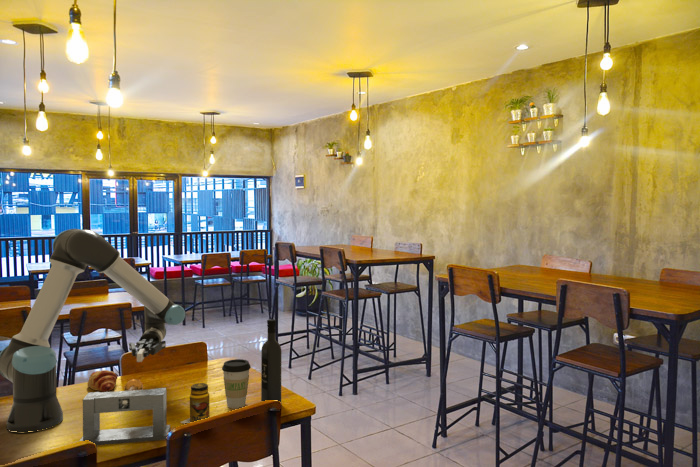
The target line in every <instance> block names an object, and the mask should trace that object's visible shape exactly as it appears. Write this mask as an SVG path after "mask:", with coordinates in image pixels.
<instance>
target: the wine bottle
mask: <svg viewBox="0 0 700 467" xmlns="http://www.w3.org/2000/svg"><path fill="white" fill-rule="evenodd" d="M276 322H277V319H273V318H271V319H267V321H266V323H267V324H266V326H267V339H266V341H264V343H263V344H262V346H261V350H260V351H261V353H260V354H261V355H260V356H261V357H260V359H261V360H260V361H261V369H260V372H261V373H260V378H261V379H260V380H261V381H260V382H261V384H260V387H261V388H260V390H261V391H260V393H261V394H260V397H261V398H260V400H261V401H265V400H278V401H280V402H281V403H282V354H283V353H282V351H283V350H282V347H281V345H280V343H279V342H278V341H277V340H276V326H277V323H276ZM261 401H260V402H261Z"/></svg>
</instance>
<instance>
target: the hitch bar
mask: <svg viewBox="0 0 700 467" xmlns="http://www.w3.org/2000/svg"><path fill="white" fill-rule="evenodd" d="M122 399H130V402H129V404H128V406H126V407H122V406H121V404H120V403H121V401H122ZM148 410H152V425H148V426H136V427H123V428H110V429H108V428H107V429H101V425H100V424H101V419H100V418H101V415H100V414H103V413H104V414H105V413H120V412H131V411H133V412H136V411H148ZM170 431H171V424H167V387H159V388H157V387H156V388H150V389H142V390H131V391H125V390H118V391H117V390H116V391H115V390H114V391H107V392H102V391H95V392H93V391H92V392H91V391H90V392H87V394H86V395H85V396H84V398H83V399H82V437H81V438H80V439H79V441H85V440H89V441H91V442H93V443H95V444H96V445H95V446H103V445H104V446H105V444H107V445H117V444H129V443H142V442H152V441H154V442H155V441H166V437H167V433H168V432H169V433H170ZM167 438H168V437H167Z"/></svg>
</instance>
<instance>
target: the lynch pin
mask: <svg viewBox="0 0 700 467" xmlns="http://www.w3.org/2000/svg"><path fill="white" fill-rule="evenodd" d="M143 387H144V385H143V383H142V382H141V380H139V379H137V378H135V379H130V380H128V381H127V383H126V384H125V386H124V391H131V390H144V389H143ZM129 403H130V399H122V401H121V403H120V404H121V406H122V407H126V406H128V404H129Z"/></svg>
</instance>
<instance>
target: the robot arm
mask: <svg viewBox="0 0 700 467" xmlns="http://www.w3.org/2000/svg"><path fill="white" fill-rule="evenodd" d="M51 253H52V254H51V256H50V258H49V263H50V265H51V267H50V269H49V271H48V273H47V275H46V278H45V280H44V281H43V284H42V286H41V288H40V289H39V292H38V294H37V296H36V298H35V300H34V303H33V305H32V307H31V309H30V311H29V314H28V316H27V317H26V320H25V322H24V323H23V326H22V328H21V329H20V330H21V331H20V332H19V333H17V334H15V335H12V338H11V340H10V341H9V344H8V345H6V346H5V347H4V348H3V349H2V350H1V351H0V374H1V376H2V377H3V378H4V379H6V380H8V381H10V383H12V397H13V398H12V404H11V409H10V411H9V414H8V417H7V420H6V430H7V429H8V430H10V431H17V432H28V431H37V430H42V429H45V430H47V429H46V428H49V427H51V428H53V427H52V426H54V427H56V426H57V425H56V424H58V423H59V424H60V423H62V422H61V421H63V419H64V412H63V409H62V407H61V404H60V402H59V399H58V397H57V362H58V361H57V360H58V359H57V356H56V354H57V353H56V351H55V349H53V348H52V347H51V345H50V342H49V338H50V336H51V334H52V332H53V329H54V327H55V325H56V323H57V320H58V319H59V316H60V313H62V309H63V308H64V306H65V303H66V301H67V299H68V296H69V294H70V292H71V291H72V287H73V286H74V283H75V281H76V278H77V277H78V275H79V274H81V273H84V272H85V270H86V268H87V267H89V268H92V269H93V270H95V272H97V273H99V274H104V275H106V277H108V278H109V279H111V280H112V281H113V282H114V283H116V284H117V285H118V286H119V287H120V288H122V289H123V290H124V291H125V292H127V293H128V294H129V295H130V296H132V298H134V299H135V300H136V301H137V302H139V303H140V304H142V306H143V309H144V312H143V313H144V333H143V334H142V335H140V338H139V339H138V341H137V342H129V343H128V350H129V351H130V352H131V356H132V357H135V358H136V363H142V362H143V361H144V359H145V358H147V357H149V356H150V355H151V356H154V355H156V354H158V353H159V352H160V351H161V350H163V349H166V343H167V341H166V340H164V339H165V337H166V336H167V335H166V334H167V327H166V324H168V325H170V326H172V325H173V326H178V325H180V324H181V323H182V322H183V321H185V317H186V311H185V308H184V307H182V306H181V305H179V304H176V303H174V302H173V301H172V300H171V299H169V298H168V297H167V296H166V295H165V294H164V293H162V291H160V290H159V289H158V288H157V287H156V286H154V284H152V283H151V282H150V281H149V280H147V279H146V278H145V277H144V276H143V275H142V274H141V273H139V272H138V270H136V269H135V268H134V267H133V266H131V265H130V264H129V263H128V262H126V261H125V260H124V259H123V258H122V257H121V256H120V255H121V254H120V252H119V250H118V249H116V247H114V246H113V245H112V244H111V243H110V242H109V241H108V240H107V239H105V238H104V237H103V236H102V235H101V234H99V232H96V231H93V230H92V229H79V228H69V229H66V230H64V231H61V232H60V233H58V234H57V235H56V236H55V238H54V239H53V242H52V252H51ZM59 424H58V425H59ZM55 425H56V426H55ZM49 429H50V428H49ZM8 430H7V431H8ZM42 431H43V430H42ZM37 432H38V431H37Z"/></svg>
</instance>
